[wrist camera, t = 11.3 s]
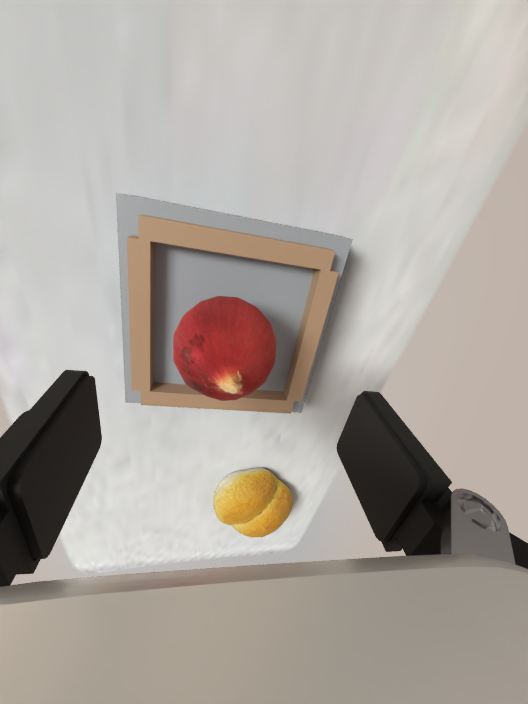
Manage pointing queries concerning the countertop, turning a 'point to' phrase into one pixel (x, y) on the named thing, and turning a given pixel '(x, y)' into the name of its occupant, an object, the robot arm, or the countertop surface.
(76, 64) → the countertop surface
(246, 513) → the bread roll
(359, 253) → the countertop surface
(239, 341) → the pomegranate
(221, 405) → the stand
